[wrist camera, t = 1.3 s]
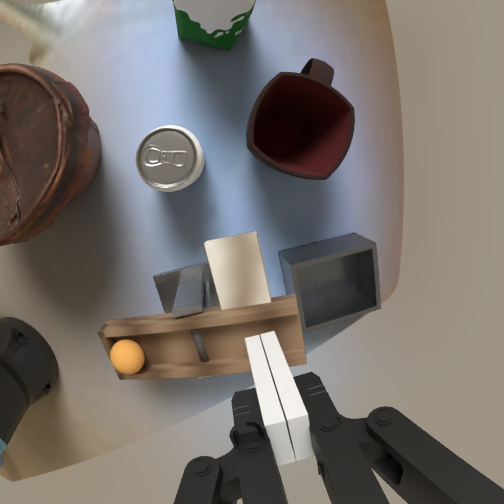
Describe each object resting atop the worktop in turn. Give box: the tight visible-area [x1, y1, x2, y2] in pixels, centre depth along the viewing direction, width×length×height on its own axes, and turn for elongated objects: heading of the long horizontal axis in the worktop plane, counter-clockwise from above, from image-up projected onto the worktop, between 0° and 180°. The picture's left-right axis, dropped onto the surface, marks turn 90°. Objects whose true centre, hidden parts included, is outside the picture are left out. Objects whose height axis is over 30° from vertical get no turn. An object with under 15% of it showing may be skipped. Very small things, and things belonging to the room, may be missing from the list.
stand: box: [153, 262, 221, 380], centre depth 38 cm, size 10×11×11 cm
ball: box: [110, 339, 145, 374], centre depth 32 cm, size 4×4×4 cm
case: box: [0, 63, 101, 246], centre depth 27 cm, size 18×20×18 cm
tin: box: [279, 233, 381, 333], centre depth 41 cm, size 11×9×6 cm
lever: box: [98, 231, 307, 380], centre depth 32 cm, size 22×14×3 cm, turn 102°
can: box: [136, 125, 205, 192], centre depth 33 cm, size 6×6×12 cm
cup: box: [246, 58, 355, 180], centre depth 33 cm, size 10×14×12 cm
